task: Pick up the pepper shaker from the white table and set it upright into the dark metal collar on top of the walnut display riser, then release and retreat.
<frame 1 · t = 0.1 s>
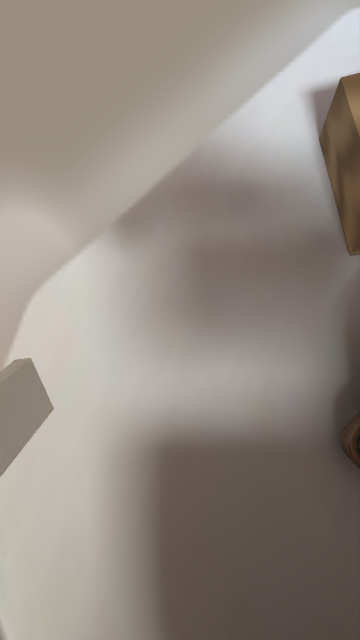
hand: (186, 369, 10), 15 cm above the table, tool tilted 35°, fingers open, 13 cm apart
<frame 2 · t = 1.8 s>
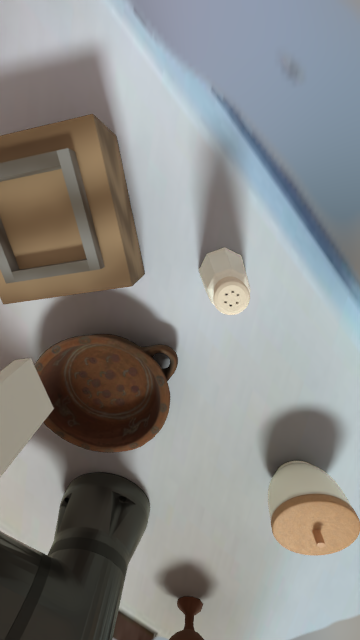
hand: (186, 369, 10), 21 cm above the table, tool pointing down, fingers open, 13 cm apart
ice cream bowl: (189, 602, 56), on the table
display riser: (72, 221, 30), on the table
pepper shaker: (222, 271, 30), on the table
dish: (111, 377, 37), on the table
lidded jar: (295, 473, 41), on the table
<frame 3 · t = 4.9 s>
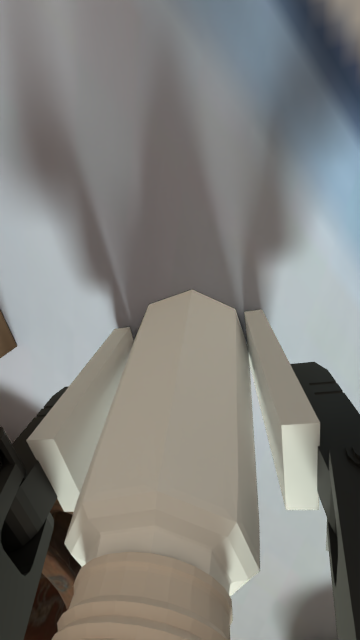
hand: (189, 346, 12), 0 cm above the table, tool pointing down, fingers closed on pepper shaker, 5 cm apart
pepper shaker: (190, 341, 13), on the table, touching gripper
dish: (5, 511, 21), on the table
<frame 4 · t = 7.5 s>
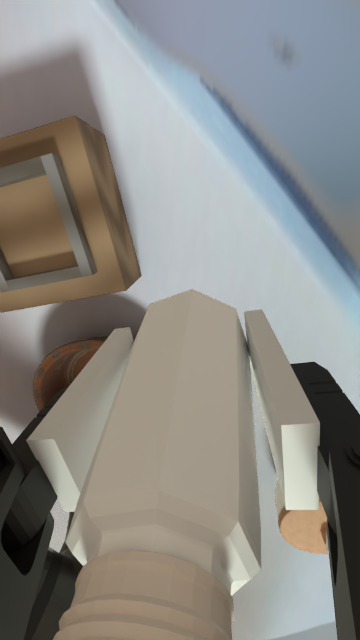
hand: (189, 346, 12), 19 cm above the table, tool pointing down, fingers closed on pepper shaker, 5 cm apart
display riser: (65, 225, 29), on the table
pepper shaker: (191, 340, 13), point 18 cm above the table, touching gripper
dish: (114, 379, 37), on the table
lidded jar: (303, 471, 40), on the table
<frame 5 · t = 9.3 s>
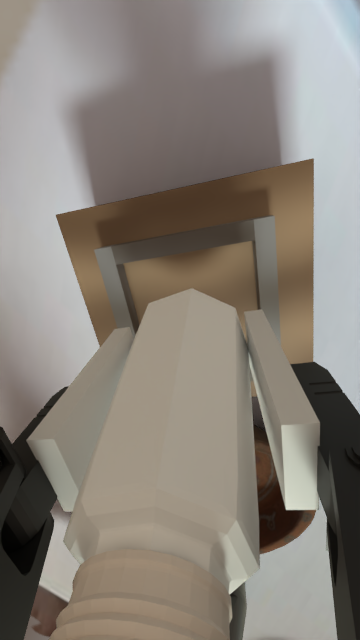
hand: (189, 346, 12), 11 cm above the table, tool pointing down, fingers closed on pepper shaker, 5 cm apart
display riser: (198, 285, 22), on the table
pepper shaker: (190, 340, 13), point 10 cm above the table, touching gripper
dish: (219, 460, 30), on the table
when the fingers open (8 cm above the table, at t = 10.4 s): pepper shaker drops 2 cm, resting on display riser.
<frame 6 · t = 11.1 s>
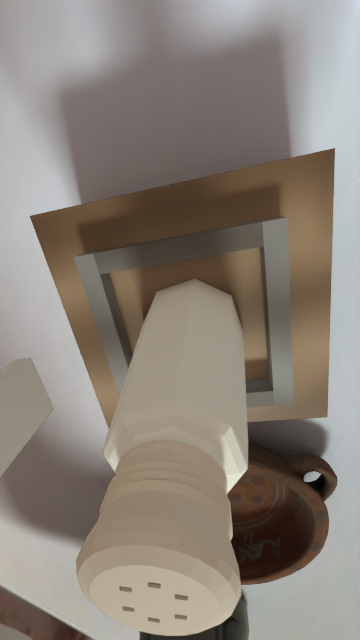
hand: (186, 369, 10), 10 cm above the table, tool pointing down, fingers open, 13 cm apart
display riser: (197, 293, 20), on the table
pepper shaker: (192, 325, 15), point 6 cm above the table, touching display riser
dish: (219, 479, 28), on the table
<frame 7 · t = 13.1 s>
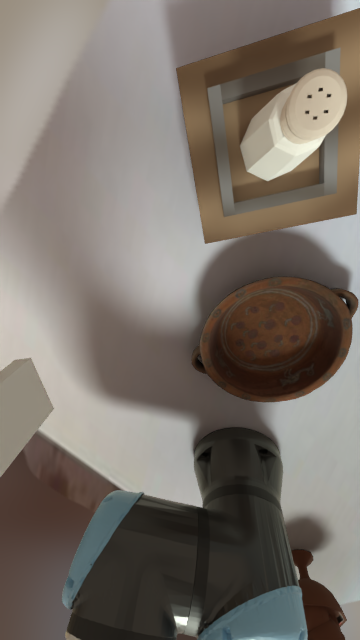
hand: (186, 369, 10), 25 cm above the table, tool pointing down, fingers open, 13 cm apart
ice cream bowl: (299, 555, 58), on the table
display riser: (260, 156, 28), on the table
pepper shaker: (271, 146, 23), point 6 cm above the table, touching display riser
dish: (265, 329, 37), on the table
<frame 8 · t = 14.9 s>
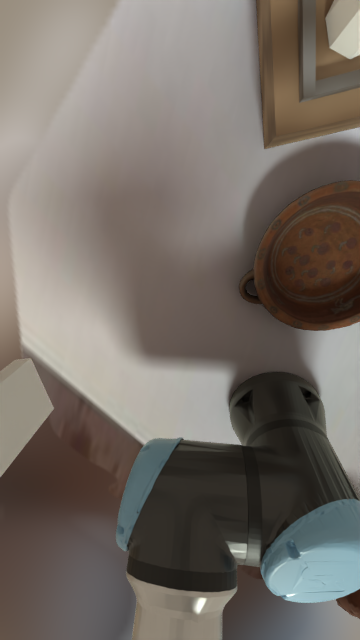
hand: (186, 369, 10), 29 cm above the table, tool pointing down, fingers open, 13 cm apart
ice cream bowl: (329, 522, 56), on the table
display riser: (329, 56, 28), on the table
pepper shaker: (357, 19, 22), point 6 cm above the table, touching display riser
dish: (316, 257, 36), on the table
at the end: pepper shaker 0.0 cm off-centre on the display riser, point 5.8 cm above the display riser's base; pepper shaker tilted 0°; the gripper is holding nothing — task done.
